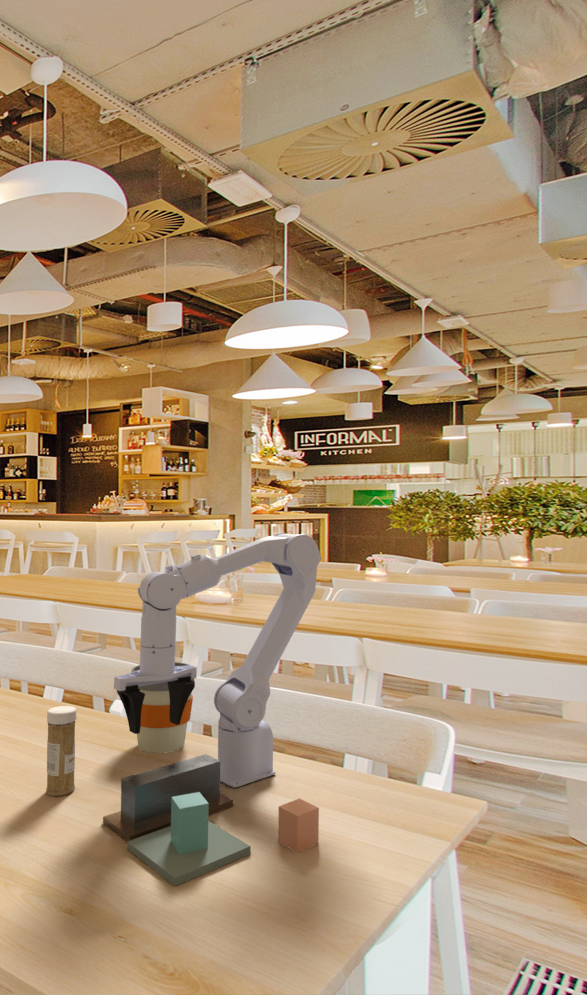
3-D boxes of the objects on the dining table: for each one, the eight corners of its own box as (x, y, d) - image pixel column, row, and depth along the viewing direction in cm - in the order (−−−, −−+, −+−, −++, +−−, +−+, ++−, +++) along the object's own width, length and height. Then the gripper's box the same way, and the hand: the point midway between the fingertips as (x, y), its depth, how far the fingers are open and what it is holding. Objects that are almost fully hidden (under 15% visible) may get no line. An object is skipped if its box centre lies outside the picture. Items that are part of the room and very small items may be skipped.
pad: (199, 822, 100) (199, 815, 100) (250, 853, 91) (250, 846, 91) (126, 849, 92) (127, 841, 92) (174, 886, 83) (175, 877, 83)
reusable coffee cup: (197, 753, 128) (199, 674, 128) (130, 759, 124) (131, 678, 124) (189, 732, 140) (190, 660, 140) (127, 737, 136) (128, 663, 136)
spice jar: (78, 793, 109) (79, 710, 109) (49, 799, 107) (51, 714, 107) (70, 783, 113) (72, 703, 113) (42, 789, 110) (44, 707, 111)
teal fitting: (198, 835, 94) (199, 791, 94) (207, 848, 90) (208, 803, 90) (170, 841, 92) (171, 796, 92) (178, 854, 88) (179, 808, 88)
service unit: (203, 790, 111) (204, 747, 111) (233, 806, 105) (233, 761, 105) (103, 823, 99) (103, 775, 99) (129, 843, 93) (130, 793, 93)
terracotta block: (299, 833, 97) (299, 798, 97) (318, 843, 94) (318, 807, 94) (278, 842, 94) (278, 806, 94) (297, 853, 91) (297, 816, 91)
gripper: (181, 636, 119) (179, 713, 118) (106, 645, 109) (103, 729, 109) (204, 643, 114) (202, 723, 113) (127, 653, 104) (124, 741, 103)
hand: (155, 727), depth 111 cm, fingers open, 7 cm apart
